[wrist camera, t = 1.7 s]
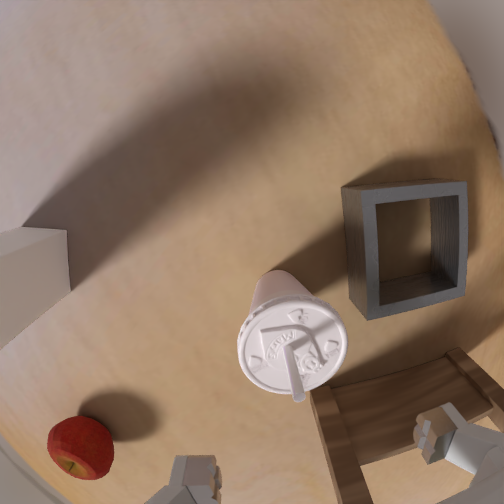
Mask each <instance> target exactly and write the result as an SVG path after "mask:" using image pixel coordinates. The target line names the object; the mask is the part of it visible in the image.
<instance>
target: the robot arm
mask: <svg viewBox="0 0 504 504" xmlns="http://www.w3.org/2000/svg"><path fill="white" fill-rule="evenodd" d="M416 422H417V423H418V424H417V425H416V426H415V428H414V432H413V437H414V441H415V444H416V446H417V447H418V448H420V449H422V450H423V451H422V456H423V458H424V460H425V461H426V463H427V465H428V464H431V463H433V462H436V461H438V460H441V459H443V458H445V459H446V460H448V461H450V462H452V463H453V464H455V465H457V466H459V467H461V468H463V469H465V470H467V471H469V472H470V473H472V474H474V475H475V476H474V478H473V480H472V481H471V483H470V485H469V488H467V489H465V490H463V491H461V492H459V493H458V494H456V495H453V496H451V497H449V498H447V499H445V500H443V501H441V502H439V503H436V504H504V433H501V432H498V431H495V430H492V429H489V428H485V427H482V426H479V425H476V424H473V423H470V424H468V423H467V422H466V420H465V419H464V418H463V417H462V416H461V414H460V413H459V412H458V411H457V409H456V408H455V407H454V406H453V405H452V403H450V402H448V403H446V404H444V405H441V406H439V407H436V408H433V409H431V410H428V411H425V412H423V413H420V414H418V416H417V418H416ZM221 487H222V476H221V471H220V468H219V466H217V465H216V458H215V456H214V455H176V457H175V458H174V462H173V467H172V471H171V476H170V481H169V485H168V486H164V487H163V488H162V489H161V490H159V491H158V492H157V493H156V494H155V495H154V496H153V497H151V498H150V499H149V500H148V501H147V502H146V503H144V504H221V494H220V491H219V489H220V488H221Z"/></svg>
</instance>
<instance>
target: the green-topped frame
mask: <svg viewBox="0 0 504 504" xmlns="http://www.w3.org/2000/svg"><path fill="white" fill-rule="evenodd" d="M310 401H311V406H312V410H313V413H314V417H315V420H316V424H317V427H318V431H319V435H320V438H321V442H322V445H323V449H324V453H325V456H326V460H327V464H328V467H329V471H330V475H331V478H332V482H333V486H334V490H335V493H336V497H337V501H338V504H373V501H372V498H371V495H370V493H369V490H368V487H367V484H366V482H365V479H364V476H363V473H362V471H361V468H360V466H361V465H365V464H368V463H372V462H375V461H379V460H382V459H385V458H388V457H391V456H394V455H397V454H400V453H403V452H406V451H409V450H412V449H414V448H417V446H416V444H415V441H414V437H413V432H414V428H415V426H416V425H417V424H418V423H417V422H416V418H417V416H418V414H420V413H423V412H425V411H428V410H431V409H433V408H436V407H439V406H441V405H444V404H446V403H448V402H450V403H452V405H453V406H454V407H455V408H456V409H457V411H458V412H459V413H460V414H461V416H462V417H463V418H464V419H465V420H466V422H467V423H468V424H470V423H474V422H476V421H478V420H480V419H482V418H484V417H486V416H488V417H489V418H490V419H491V420H492V421H493V423H494V424H495V425H496V426H497V427H498V429H499V430H500V431H501V432H502V433H504V389H503V388H502V387H501V386H500V385H499V384H498V383H497V382H496V381H495V380H494V379H492V378H491V377H490V376H489V375H488V374H487V373H486V372H485V371H484V370H483V369H482V368H481V367H480V366H479V365H478V364H477V363H476V362H475V361H474V360H472V359H471V358H470V357H469V356H468V355H467V354H466V353H465V352H464V351H463V350H462V349H461V348H457V349H454V350H451V351H449V352H446V357H443V358H440V359H437V360H435V361H432V362H429V363H426V364H422V365H419V366H416V367H413V368H410V369H407V370H403V371H400V372H396V373H393V374H389V375H386V376H382V377H378V378H375V379H371V380H367V381H363V382H359V383H355V384H351V385H346V386H342V387H337V388H333V389H331V388H330V386H329V385H326V386H321V387H316V388H314V389H311V390H310Z"/></svg>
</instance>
